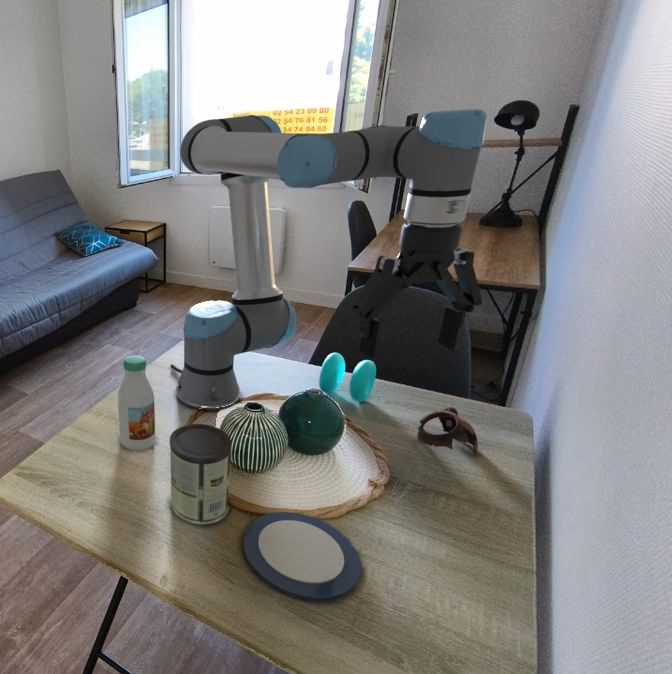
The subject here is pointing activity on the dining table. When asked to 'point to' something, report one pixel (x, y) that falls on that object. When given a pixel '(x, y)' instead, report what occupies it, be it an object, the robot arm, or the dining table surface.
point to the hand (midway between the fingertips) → (406, 349)
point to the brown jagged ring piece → (448, 430)
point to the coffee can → (200, 473)
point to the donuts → (359, 380)
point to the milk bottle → (136, 406)
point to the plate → (301, 556)
